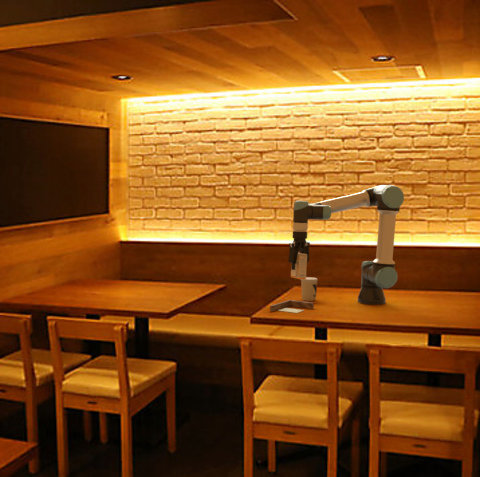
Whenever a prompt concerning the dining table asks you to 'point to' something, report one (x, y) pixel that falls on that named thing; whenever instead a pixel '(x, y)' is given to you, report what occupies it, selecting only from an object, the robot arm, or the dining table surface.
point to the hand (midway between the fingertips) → (298, 275)
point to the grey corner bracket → (291, 303)
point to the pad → (290, 310)
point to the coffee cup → (309, 288)
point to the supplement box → (301, 266)
